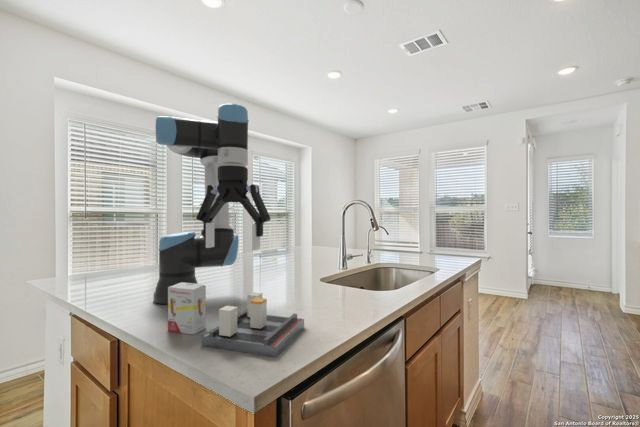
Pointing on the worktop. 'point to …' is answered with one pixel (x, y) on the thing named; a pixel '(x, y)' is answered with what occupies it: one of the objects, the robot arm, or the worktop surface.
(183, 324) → the ink box
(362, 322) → the worktop surface
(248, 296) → the block
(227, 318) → the block
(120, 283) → the worktop surface
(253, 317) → the block
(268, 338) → the panel
